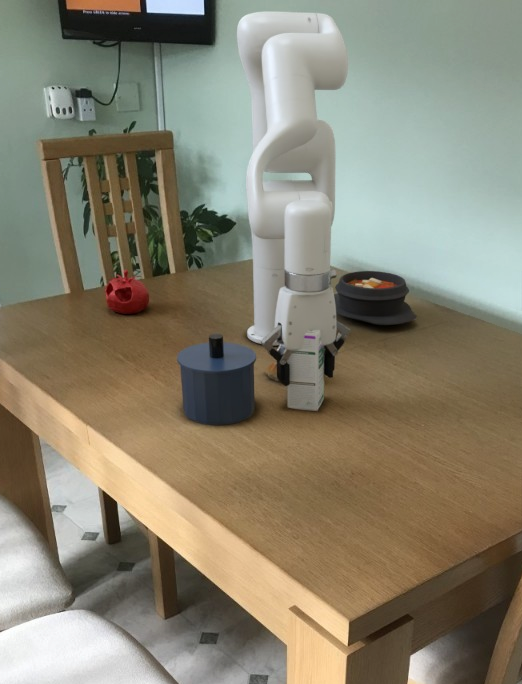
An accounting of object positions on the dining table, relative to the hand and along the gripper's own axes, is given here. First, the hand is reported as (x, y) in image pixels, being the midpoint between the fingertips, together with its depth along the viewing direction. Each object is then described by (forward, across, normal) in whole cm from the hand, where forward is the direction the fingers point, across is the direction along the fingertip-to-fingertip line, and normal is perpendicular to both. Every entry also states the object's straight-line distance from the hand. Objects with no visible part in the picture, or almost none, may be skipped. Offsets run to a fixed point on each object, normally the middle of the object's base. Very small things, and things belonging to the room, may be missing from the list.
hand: (305, 378), depth 144 cm
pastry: (+5, -3, -11) cm, 13 cm away
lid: (-5, +15, -4) cm, 16 cm away
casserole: (+5, -36, -38) cm, 53 cm away
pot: (+5, +15, -4) cm, 16 cm away
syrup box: (+5, 0, 0) cm, 5 cm away
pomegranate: (+5, +14, -64) cm, 66 cm away
